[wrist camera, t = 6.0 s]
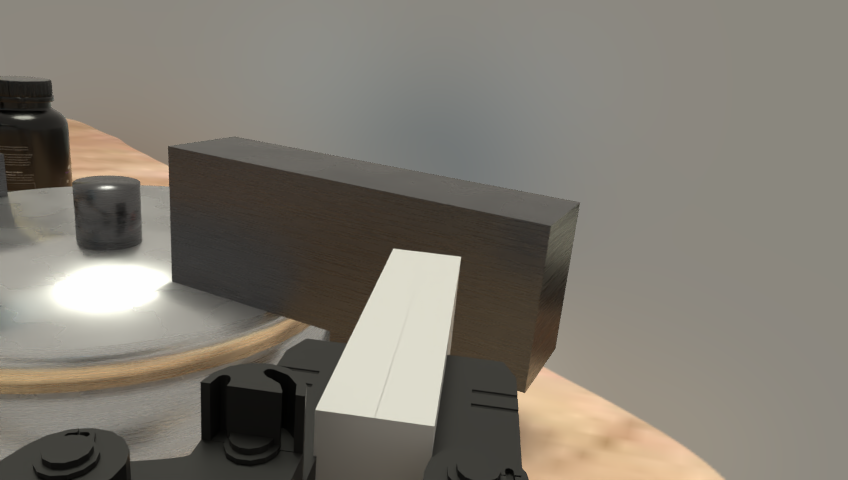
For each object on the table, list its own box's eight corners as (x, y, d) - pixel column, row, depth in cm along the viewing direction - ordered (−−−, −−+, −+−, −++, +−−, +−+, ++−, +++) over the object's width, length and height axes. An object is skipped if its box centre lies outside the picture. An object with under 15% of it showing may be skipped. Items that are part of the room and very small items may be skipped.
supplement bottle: (92, 213, 61) (83, 81, 57) (23, 230, 55) (9, 84, 51) (39, 200, 63) (27, 72, 60) (-32, 215, 57) (-50, 74, 54)
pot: (-442, 684, 18) (-549, 429, 15) (-104, 357, 35) (-129, 211, 32) (591, 554, 26) (629, 373, 23) (456, 340, 43) (470, 222, 40)
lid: (-341, 271, 23) (-390, 94, 21) (107, 185, 39) (101, 80, 38) (383, 650, 12) (414, 337, 10) (597, 309, 28) (624, 166, 26)
